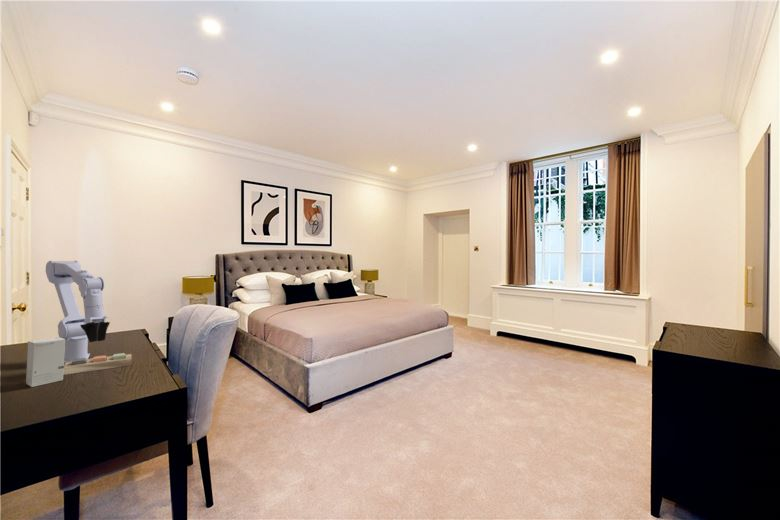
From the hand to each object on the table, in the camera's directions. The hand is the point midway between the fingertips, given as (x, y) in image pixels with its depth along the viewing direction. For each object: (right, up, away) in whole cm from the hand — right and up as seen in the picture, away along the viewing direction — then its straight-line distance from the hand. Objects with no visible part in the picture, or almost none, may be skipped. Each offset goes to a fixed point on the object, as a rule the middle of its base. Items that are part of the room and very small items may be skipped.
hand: (97, 341), depth 131 cm
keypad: (0, -10, 0) cm, 10 cm away
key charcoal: (-4, -9, -3) cm, 10 cm away
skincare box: (-4, -11, -16) cm, 19 cm away
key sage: (+5, -9, +4) cm, 11 cm away
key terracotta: (0, -9, 0) cm, 9 cm away
